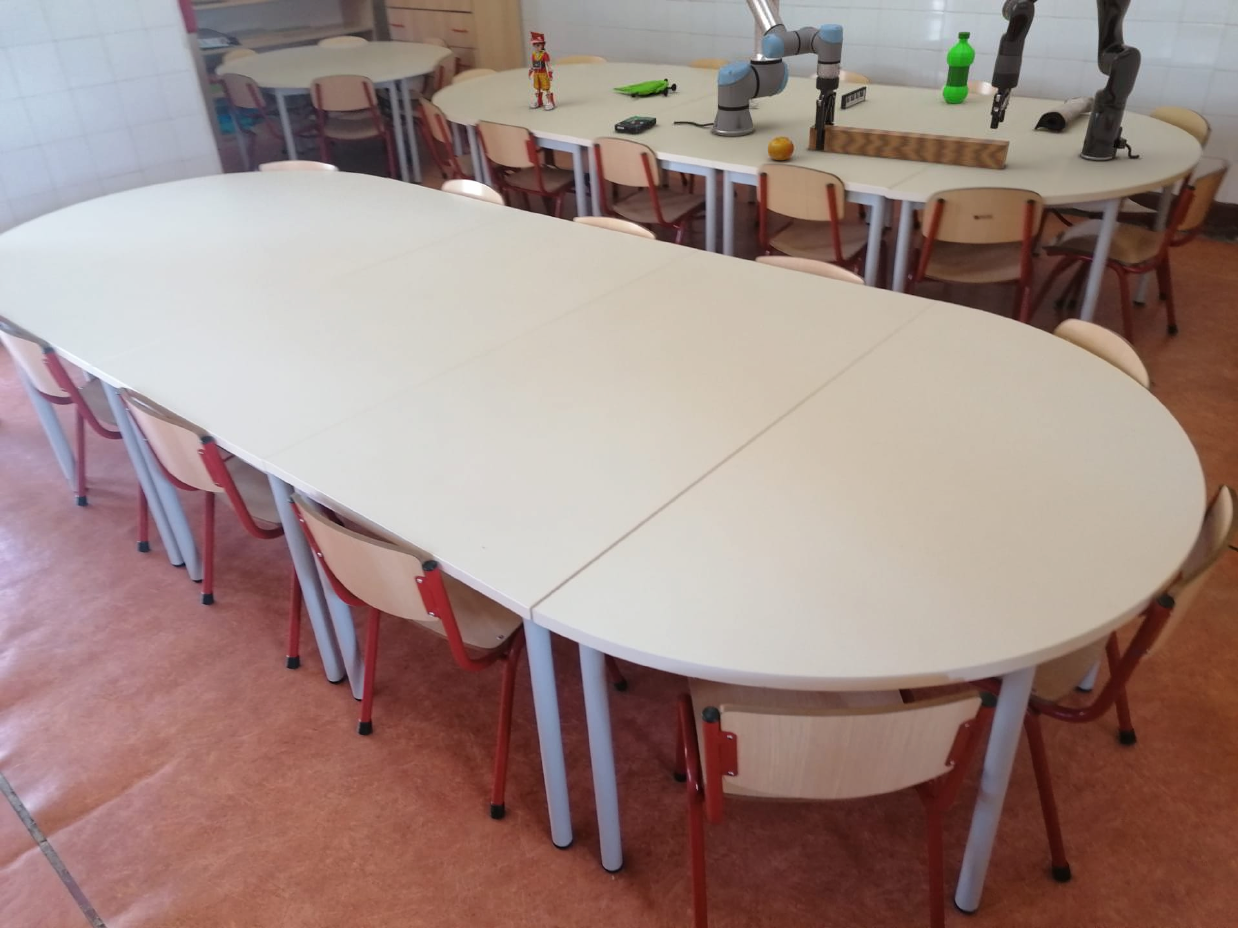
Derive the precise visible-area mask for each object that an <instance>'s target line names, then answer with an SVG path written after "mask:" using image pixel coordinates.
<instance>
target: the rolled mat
mask: <svg viewBox="0 0 1238 928" xmlns="http://www.w3.org/2000/svg"><path fill="white" fill-rule="evenodd" d="M1093 102H1094V97H1093V96H1077V97H1071V98H1068V99H1066V100H1065V101H1064V102H1063V103H1062V104H1059V105H1058V106H1056V107H1054V108H1052V109H1049V111H1047V112H1045V113H1043V114H1042V115H1041V116H1040V117H1039V119H1038V121H1037V122H1036V125H1035V127H1034V130H1036V131H1037V130H1038V129H1043V128H1044V129H1046V130H1047V131H1048V132H1054V133H1061V132H1063V131H1064V130H1065V129H1066V128H1067V127H1068V126H1069V125H1071V123H1072V122H1073V121H1075V119H1077V118H1078V117H1080V115H1082V114H1087V113H1088V114H1089V113H1091V111H1092V106H1093Z"/></svg>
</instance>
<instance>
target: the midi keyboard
mask: <svg viewBox="0 0 1238 928" xmlns="http://www.w3.org/2000/svg"><path fill="white" fill-rule="evenodd" d="M866 94H867V86H861V87H860V88H857V89H855V90H852V91H849V92H847V93H844V94H842V95H841V100H840V110H845V109H847V108H849V107H851V106H853V105H856V104H857V103H860V102H862V101H865V100H866V96H867V95H866Z"/></svg>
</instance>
